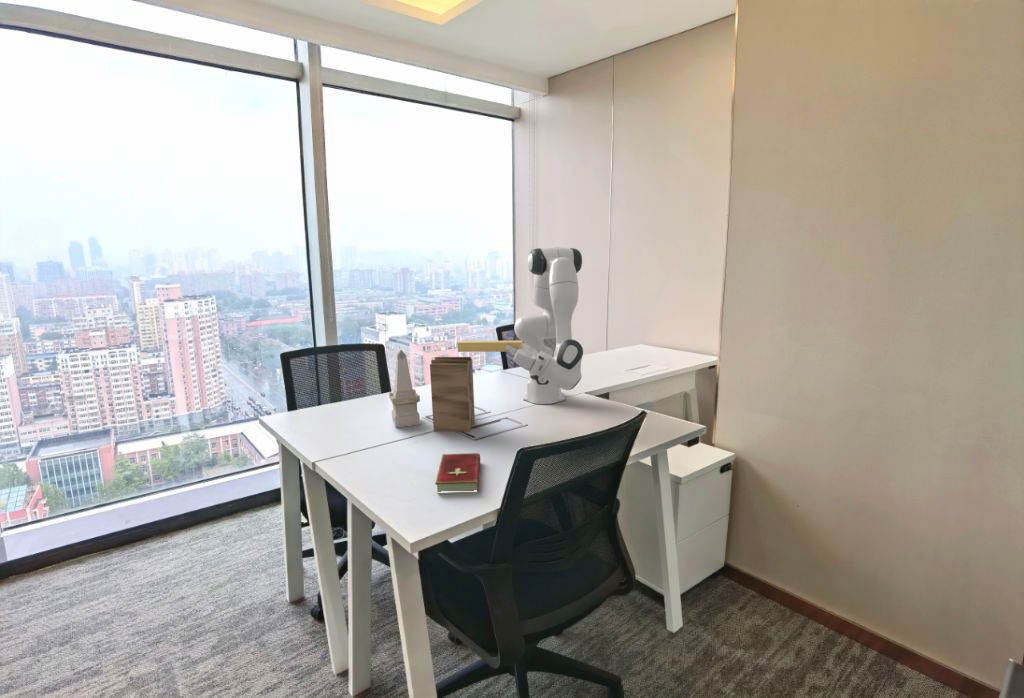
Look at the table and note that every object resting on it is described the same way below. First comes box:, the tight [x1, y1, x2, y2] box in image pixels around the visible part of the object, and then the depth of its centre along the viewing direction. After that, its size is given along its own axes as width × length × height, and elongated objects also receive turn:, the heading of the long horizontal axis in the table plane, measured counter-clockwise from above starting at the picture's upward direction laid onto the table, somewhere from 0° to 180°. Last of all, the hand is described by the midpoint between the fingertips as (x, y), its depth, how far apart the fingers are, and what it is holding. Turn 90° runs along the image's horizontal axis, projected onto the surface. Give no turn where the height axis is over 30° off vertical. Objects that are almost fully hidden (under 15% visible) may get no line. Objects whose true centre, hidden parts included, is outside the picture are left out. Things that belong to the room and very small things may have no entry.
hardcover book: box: [435, 452, 481, 492], centre depth 157 cm, size 12×21×4 cm, turn 2°
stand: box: [429, 356, 476, 433], centre depth 201 cm, size 10×14×27 cm
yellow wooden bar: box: [457, 340, 523, 353], centre depth 195 cm, size 4×24×4 cm, turn 82°
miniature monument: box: [388, 349, 421, 428], centre depth 207 cm, size 10×10×30 cm
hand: (506, 344), depth 194 cm, fingers closed on yellow wooden bar, 3 cm apart
